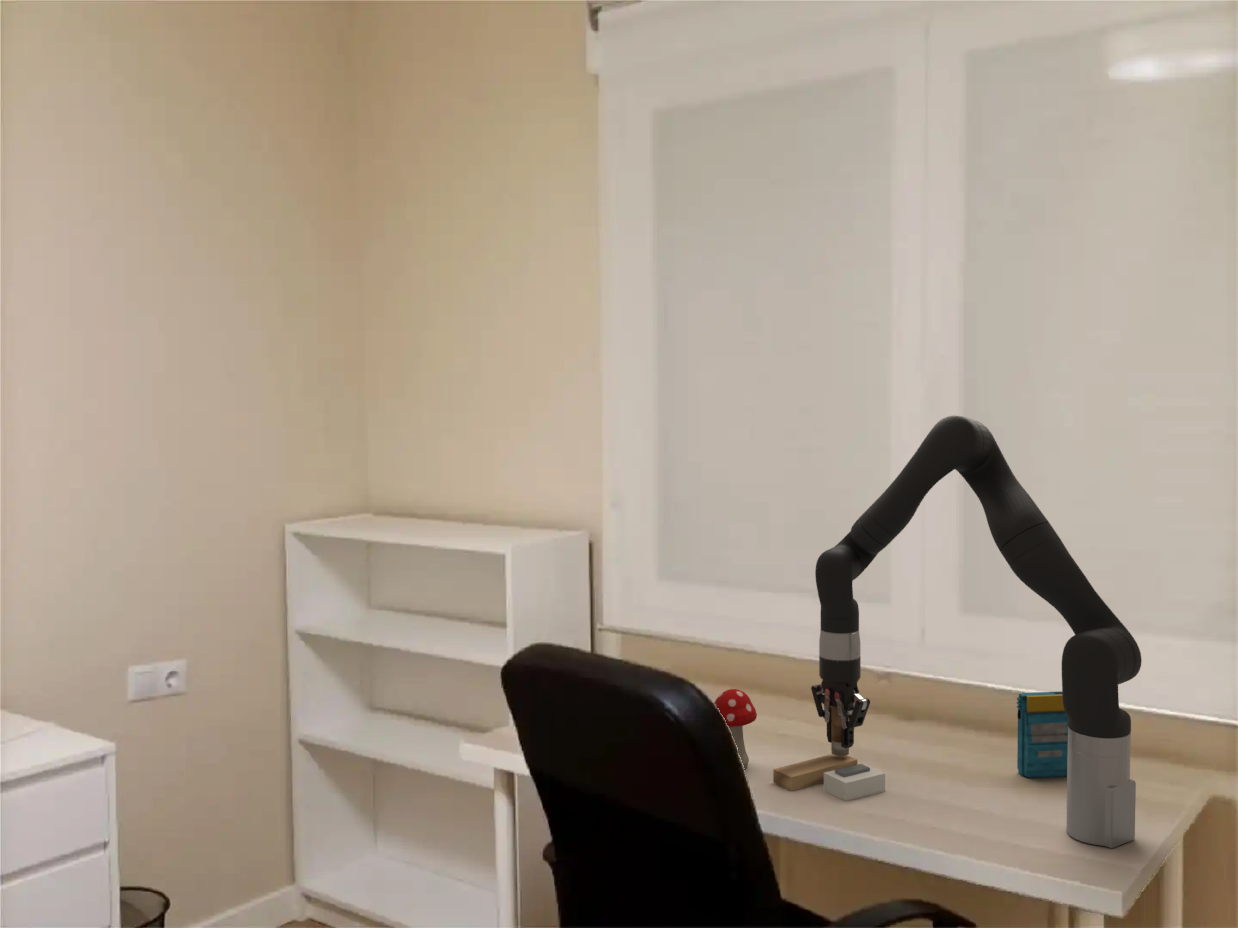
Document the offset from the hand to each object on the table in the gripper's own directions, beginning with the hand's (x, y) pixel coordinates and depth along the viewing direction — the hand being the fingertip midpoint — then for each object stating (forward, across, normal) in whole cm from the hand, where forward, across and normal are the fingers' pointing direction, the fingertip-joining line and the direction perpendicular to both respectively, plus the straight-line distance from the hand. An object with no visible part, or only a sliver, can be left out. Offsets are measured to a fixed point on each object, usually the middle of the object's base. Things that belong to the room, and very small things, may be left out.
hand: (840, 744), depth 213 cm
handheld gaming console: (+5, -23, -29) cm, 37 cm away
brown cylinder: (+2, 0, 0) cm, 2 cm away
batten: (+5, 0, +6) cm, 8 cm away
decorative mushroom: (+5, +13, +15) cm, 21 cm away
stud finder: (+5, -9, +5) cm, 11 cm away
